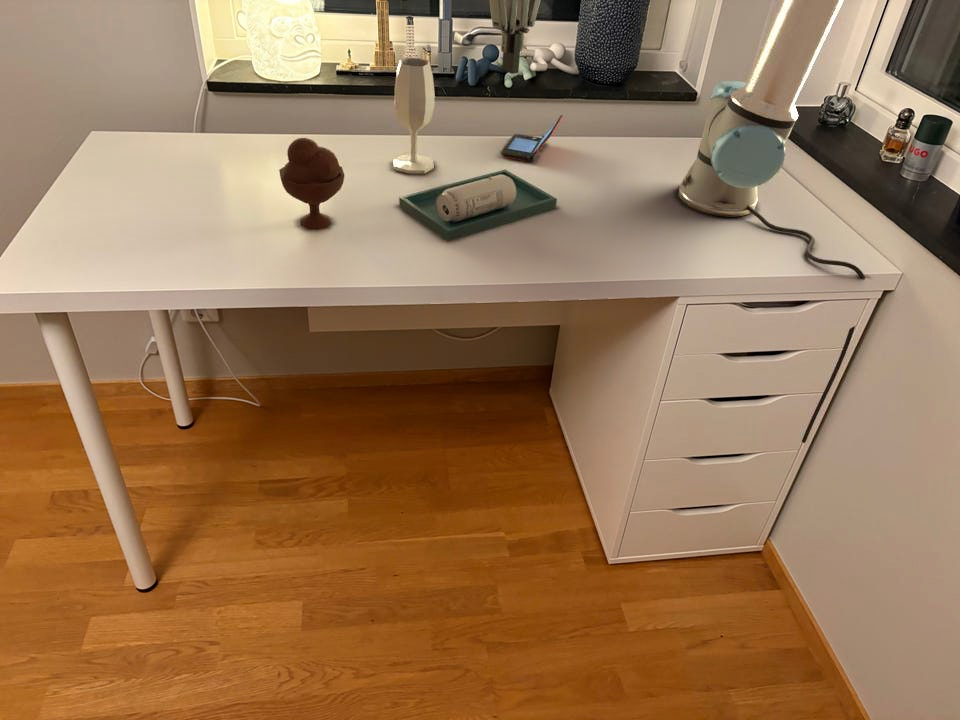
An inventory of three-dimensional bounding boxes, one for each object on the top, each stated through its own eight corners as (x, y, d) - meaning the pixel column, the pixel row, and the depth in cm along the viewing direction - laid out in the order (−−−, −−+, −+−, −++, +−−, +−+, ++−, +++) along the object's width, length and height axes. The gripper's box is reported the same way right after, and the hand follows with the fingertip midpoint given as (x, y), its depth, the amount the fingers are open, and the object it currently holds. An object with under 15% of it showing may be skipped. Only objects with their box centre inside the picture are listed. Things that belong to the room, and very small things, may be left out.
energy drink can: (505, 166, 141) (440, 183, 133) (522, 191, 140) (458, 210, 132) (493, 187, 146) (430, 205, 138) (510, 211, 144) (447, 231, 137)
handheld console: (513, 138, 173) (516, 105, 169) (559, 146, 171) (564, 113, 167) (499, 157, 164) (501, 123, 159) (547, 166, 162) (551, 132, 157)
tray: (555, 208, 146) (557, 198, 145) (448, 241, 132) (448, 231, 131) (504, 178, 155) (505, 169, 154) (399, 206, 142) (399, 196, 141)
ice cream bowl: (287, 239, 129) (278, 155, 120) (282, 210, 138) (274, 129, 129) (349, 235, 132) (346, 152, 123) (341, 206, 140) (337, 127, 131)
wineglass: (428, 177, 153) (431, 71, 140) (387, 171, 154) (386, 65, 141) (439, 161, 160) (442, 58, 147) (399, 155, 161) (399, 52, 148)
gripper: (505, -79, 113) (495, 82, 127) (568, -82, 119) (551, 71, 134) (474, -86, 117) (467, 70, 131) (536, -89, 124) (523, 60, 138)
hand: (510, 71), depth 133 cm, fingers closed
